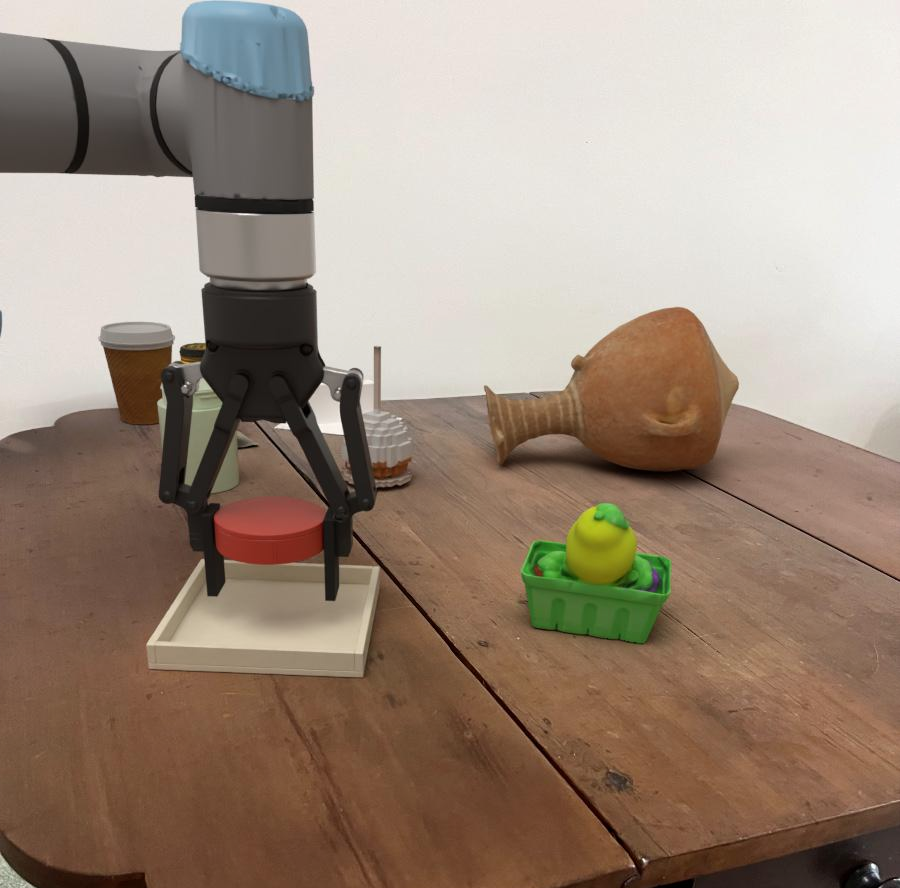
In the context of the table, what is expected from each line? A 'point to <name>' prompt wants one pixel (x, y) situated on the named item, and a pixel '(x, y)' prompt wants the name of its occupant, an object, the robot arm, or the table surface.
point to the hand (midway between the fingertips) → (274, 590)
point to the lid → (269, 530)
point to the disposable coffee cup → (137, 366)
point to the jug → (633, 397)
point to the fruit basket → (596, 580)
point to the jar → (204, 437)
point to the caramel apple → (383, 440)
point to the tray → (270, 622)
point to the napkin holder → (335, 408)
